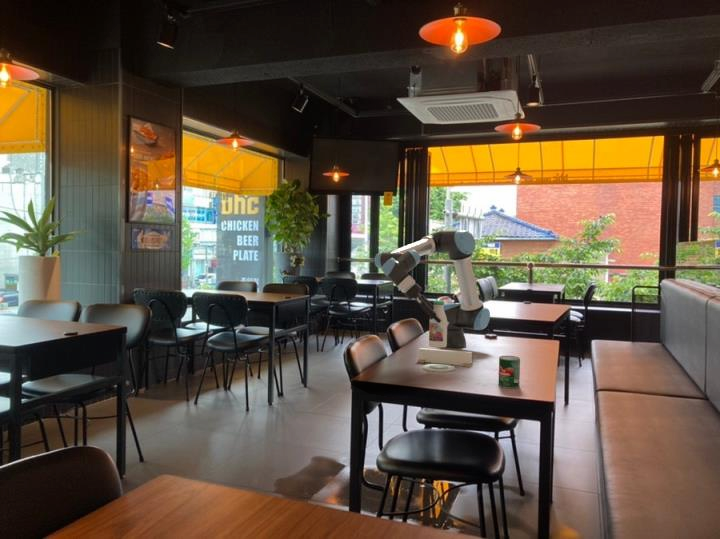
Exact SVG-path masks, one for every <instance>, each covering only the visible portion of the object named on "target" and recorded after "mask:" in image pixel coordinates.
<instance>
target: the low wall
mask: <svg viewBox="0 0 720 539" xmlns="http://www.w3.org/2000/svg"><path fill="white" fill-rule="evenodd" d="M472 356H473V352H472V351H464V350H463V351H462V350H452V349H451V350H450V349H440V348H439V349H438V348H436V349H435V348H425V347H424V348H422V347H419V348H418V359H417V363H419V364H420V363H421V364H424V362H425V363H429V362H431V363H430V364H445V365H452V364H453V365H454V366H455V365H456V366H463V367H464V368H465V367H467V368H470V367H472V365H473V361H472V359H473V358H472ZM453 365H452V366H453Z"/></svg>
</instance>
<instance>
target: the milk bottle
mask: <svg viewBox="0 0 720 539" xmlns="http://www.w3.org/2000/svg"><path fill="white" fill-rule="evenodd" d="M444 304H445V300H434V301H433V304H432V305H433V306H434V309H433V311H434V312H435V313H436V314H438V316H439V317H440V318H441V319H442V320H443V321H444V322H445V323H446V324H447V317H446V315H445V312H444V308H443V307H444ZM428 324H429V326H428V327H429V328H428V347H431V348H434V349H435V348H436V349H438V348H439V349H441V348H443V349H444V348H447V347H446V346H447V327H446V328H445V329H444V330H443V329H442V328H441V327H440V326H439V325H438V324H437V323H436V322H435V321H434V320H433V319H432V320H431V319H430V318H429V323H428Z"/></svg>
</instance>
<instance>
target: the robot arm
mask: <svg viewBox="0 0 720 539" xmlns="http://www.w3.org/2000/svg"><path fill="white" fill-rule="evenodd" d="M475 248H476V240H475V237H474V235H473V234H472V232H470V231H468V230H462V229H459V230H458V229H456V230H440V231H439V230H438V231H436V232H433V233H430V234H427V235H425V236H423V237H422V238H421V239H420V240H417V241H415V242H411V243H409V244H406V245H403V246H401V247H399V248H395V249H393V250H390V251H387V252H383V251H382V252H378V253H377V254H376V255H375V257H374V265H375V267H377V268H378V269H381V271H382V273H384V275H385V276H386V277H387V278H388V279H389V280H390V281H391V282H392V284H394V285H395V286H396V288H397V290H398V291H401V293H404V296H405V297H406V298H407V299H408V300H409V301H410V300H413V299H414V300H415V303H416V304H417V305H418V306H420V308H421V309H422V310H423V311H424V312H425V313H426V314H427V316H428V317H429V320H430V319H431V320H432V319H433V320H434V321H435V322H436V323H437V324H438V325H439V326H440V327H441V328H442V329H443V330H444V329H445V328H446V327H447V346H446V347H445V348H446V349H447V348H450V349H462V348H466V347H467V341H466V336H465V334H464V329H470V330H474V331H477V330H478V331H482V330H484V329H485V328H487V327H488V325H489V322H490V319H491V311H490V309H488V308H487V307H484V306H485V305H484V303H483V301H482V300H480V298H479V297H480V296H479V292H478V289H477V284H476V279H475V274H474V268H473V265H472V260H471V258H472V256H473V253H474V251H475ZM432 254H433V255H434V254H448V256H449V260H450V261H452V262H453V266H454V269H455V270H454V271H455V274H456V278H457V285H458V288H459V293H460V297H461V302H453V303H444V307H443V308H444V312H445V315H446V317H447V324H446V323H445V322H444V321H443V320H442V319H441V318H440V317H439V316H438V314H436V313H435V312H434V311H433V309H434V306H433V305H434V304H432V302H430V300H428V299H427V297H426V296H425V295H424V294H421V293H420V292H421V291H422V287H421V285H419V284H418V282H417V283H416V280H415V279H414V278H413V277H412V276H411V275H410V274H409V272H410V271H411V270H413V269H414V268H415V267H416V266H417V265H418V264H419V263H420V262H421V257H422V256H424V255H428V256H431V255H432Z"/></svg>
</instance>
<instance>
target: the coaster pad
mask: <svg viewBox="0 0 720 539" xmlns="http://www.w3.org/2000/svg"><path fill="white" fill-rule="evenodd" d="M422 369H423V370H424V369H425V371H427V370H428V371H427V372H433V371H434V372H435V373H448V372H454V371H455V370H456V368H455V366H453V365H452V364H441V363H428V364H424V365H422Z"/></svg>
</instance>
